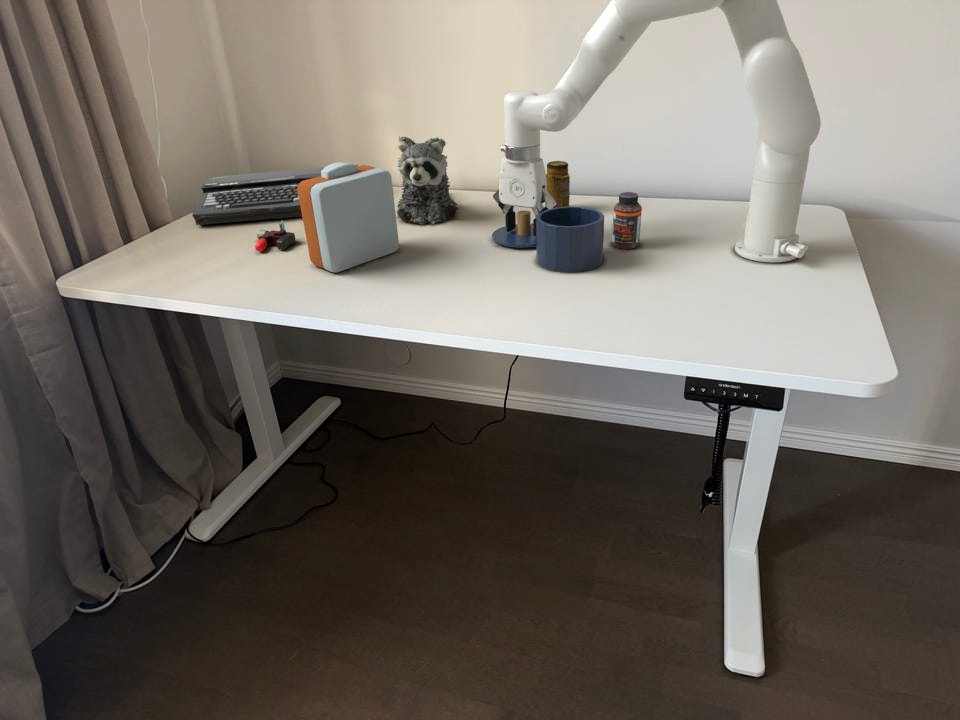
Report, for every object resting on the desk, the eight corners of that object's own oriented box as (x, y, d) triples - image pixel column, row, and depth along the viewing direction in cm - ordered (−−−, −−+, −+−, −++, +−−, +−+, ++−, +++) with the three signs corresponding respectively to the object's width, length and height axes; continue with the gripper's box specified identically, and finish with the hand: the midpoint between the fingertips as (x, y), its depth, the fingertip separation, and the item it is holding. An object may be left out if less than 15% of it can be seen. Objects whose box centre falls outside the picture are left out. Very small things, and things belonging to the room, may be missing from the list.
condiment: (566, 205, 180) (566, 158, 174) (577, 214, 172) (577, 166, 167) (539, 208, 179) (538, 161, 173) (548, 218, 171) (548, 169, 165)
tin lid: (569, 241, 156) (569, 214, 153) (512, 254, 151) (511, 227, 148) (535, 224, 168) (535, 199, 165) (481, 236, 162) (479, 210, 159)
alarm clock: (377, 242, 162) (366, 153, 152) (401, 250, 156) (390, 158, 146) (309, 266, 151) (292, 171, 141) (332, 275, 145) (316, 177, 135)
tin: (615, 263, 143) (617, 218, 139) (559, 277, 138) (560, 231, 134) (578, 244, 154) (578, 202, 150) (525, 257, 149) (524, 214, 144)
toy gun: (262, 237, 170) (258, 218, 168) (302, 241, 165) (298, 222, 163) (235, 250, 162) (230, 230, 160) (276, 256, 158) (271, 235, 155)
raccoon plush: (403, 233, 167) (393, 143, 156) (387, 198, 194) (378, 120, 183) (464, 225, 169) (459, 137, 159) (441, 192, 196) (434, 114, 186)
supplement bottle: (609, 249, 151) (612, 197, 145) (613, 239, 156) (615, 189, 150) (637, 250, 149) (641, 198, 143) (640, 241, 154) (644, 190, 148)
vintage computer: (194, 228, 177) (186, 197, 173) (214, 199, 202) (208, 172, 199) (362, 215, 182) (358, 184, 179) (361, 188, 208) (358, 161, 204)
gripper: (479, 153, 151) (483, 232, 160) (550, 160, 143) (550, 243, 152) (497, 145, 157) (500, 222, 166) (566, 152, 148) (565, 232, 157)
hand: (524, 231), depth 158 cm, fingers open, 6 cm apart
